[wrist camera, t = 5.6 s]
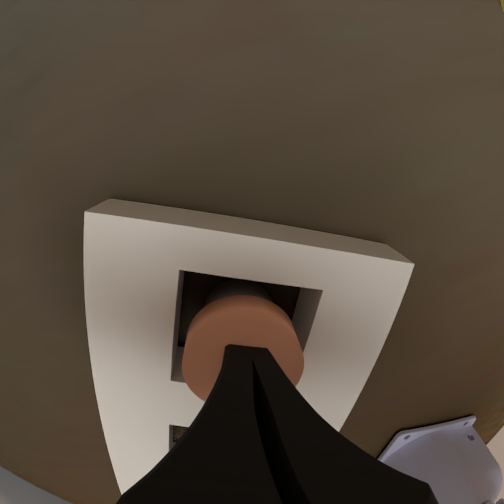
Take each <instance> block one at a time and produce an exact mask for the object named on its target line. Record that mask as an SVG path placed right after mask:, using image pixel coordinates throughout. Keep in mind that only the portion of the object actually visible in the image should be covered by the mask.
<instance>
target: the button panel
mask: <svg viewBox="0 0 504 504" xmlns="http://www.w3.org/2000/svg"><path fill="white" fill-rule="evenodd" d="M413 267H414V263H412V262H411V261H410V260H408V259H407V258H405V257H404V256H403V255H401V254H400V253H398V252H397V251H395V250H394V249H393V248H391V247H390V246H388V245H387V244H383V243H378V242H373V241H368V240H363V239H358V238H353V237H347V236H342V235H337V234H331V233H326V232H321V231H315V230H310V229H304V228H298V227H293V226H287V225H281V224H275V223H270V222H264V221H258V220H252V219H246V218H240V217H233V216H227V215H221V214H215V213H208V212H202V211H195V210H189V209H182V208H175V207H168V206H161V205H154V204H147V203H140V202H133V201H125V200H118V199H108V200H106V201H104V202H102V203H100V204H98V205H96V206H94V207H92V208H90V209H88V210H86V211H85V214H84V290H85V308H86V321H87V332H88V342H89V350H90V358H91V366H92V373H93V379H94V385H95V391H96V397H97V402H98V407H99V412H100V417H101V422H102V426H103V431H104V435H105V439H106V443H107V447H108V451H109V455H110V458H111V462H112V465H113V469H114V472H115V476H116V479H117V482H118V485H119V488H120V491H121V494H123V493H124V492H126V491H127V490H128V489H129V488H130V487H132V486H133V485H134V484H135V483H137V482H138V481H139V480H140V479H141V478H142V477H144V476H145V475H146V474H147V473H148V472H149V471H150V470H151V469H153V468H154V467H155V465H156V464H157V463H158V462H159V461H160V460H161V459H162V458H163V457H164V456H165V455H166V454H167V453H168V452H169V451H170V450H171V449H172V448H173V447H174V445H175V444H176V443H177V442H173V425H177V426H183V427H189V426H190V425H191V424H192V422H193V421H194V419H195V418H196V416H197V415H198V413H199V412H200V410H201V408H202V407H203V405H204V403H205V401H203V400H201V399H200V398H199V397H197V396H196V395H195V394H194V393H193V392H192V391H191V390H190V388H189V387H188V386H187V384H186V382H185V380H184V377H183V373H182V359H183V354H184V348H185V347H180V346H178V336H179V324H180V313H181V303H182V293H183V284H184V275H185V271H191V272H198V273H204V274H211V275H218V276H224V277H231V278H238V279H245V280H252V281H259V282H266V283H274V284H281V285H289V286H296V287H301V288H300V292H299V296H298V299H297V303H296V307H295V310H294V314H293V317H292V321H291V322H292V324H293V327H294V329H295V332H296V335H297V338H298V341H299V344H300V346H301V349H302V352H303V356H304V370H303V374H302V376H301V379H300V381H299V382H298V384H297V385H296V389H297V390H298V391H299V392H300V394H301V395H302V396H303V397H304V398H305V400H306V401H307V402H308V403H309V404H310V405H311V406H312V407H313V409H314V410H315V411H316V412H317V413H318V414H319V415H320V416H321V417H322V418H323V419H324V420H325V421H327V422H328V423H329V424H330V425H331V426H332V427H333V428H334V429H336V430H337V431H338V432H339V431H340V429H341V427H342V426H343V424H344V422H345V420H346V419H347V417H348V415H349V413H350V411H351V410H352V408H353V406H354V404H355V402H356V400H357V398H358V396H359V395H360V393H361V391H362V389H363V387H364V385H365V383H366V381H367V379H368V377H369V375H370V373H371V371H372V369H373V367H374V364H375V362H376V360H377V358H378V356H379V354H380V351H381V349H382V347H383V345H384V342H385V340H386V338H387V336H388V333H389V331H390V329H391V326H392V324H393V321H394V319H395V316H396V314H397V311H398V309H399V306H400V304H401V301H402V298H403V296H404V293H405V290H406V288H407V285H408V282H409V279H410V276H411V273H412V270H413Z"/></svg>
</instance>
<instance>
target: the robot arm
mask: <svg viewBox="0 0 504 504" xmlns="http://www.w3.org/2000/svg"><path fill="white" fill-rule="evenodd" d="M475 420H476V417H475V416H474V415H473V416H469V417H466V418H462V419H458V420H454V421H450V422H445V423H441V424H436V425H432V426H427V427H422V428H416V429H411V430H405V431H401V432H399V433H397V434H396V435H395V437H394V438H393V439H392V441H391V442H390V443H389V445H388V446H387V447H386V449H385V450H384V451H383V453H382V454H381V455H380V457H379V458H378V459H376V458H374V457H372V456H371V455H369V454H368V453H366V452H365V451H363V450H362V449H360V448H359V447H357V446H356V445H355V444H353V443H352V442H350V441H349V440H348V439H346V438H345V437H344V436H343V435H341V434H340V433H339V432H338V431H337V430H336V429H334V428H333V427H332V426H331V425H330V424H329V423H328V422H327V421H325V420H324V419H323V418H322V417H321V416H320V415H319V414H318V413H317V412H316V411H315V410H314V409H313V407H312V406H311V405H310V404H309V403H308V402H307V401H306V400H305V398H304V397H303V396H302V395H301V394H300V392H299V391H298V390H297V389H296V387H295V386H294V385H293V383H292V382H291V381H290V380H289V378H288V377H287V376H286V374H285V373H284V371H283V370H282V368H281V367H280V366H279V364H278V363H277V361H276V360H275V358H274V357H273V355H272V354H271V352H270V351H269V350H268V348H262V347H251V346H242V345H234V344H228V345H227V346H225V350H224V355H223V361H222V367H221V370H220V372H219V375H218V377H217V380H216V382H215V384H214V386H213V388H212V390H211V392H210V394H209V396H208V398H207V400H206V401H205V403H204V405H203V407H202V408H201V410H200V412H199V413H198V415H197V416H196V418H195V419H194V421H193V422H192V424H191V425H190V426H189V428H188V429H187V430H186V432H185V433H184V434H183V435H182V437H181V438H180V439H179V441H178V442H177V443H176V444H175V445H174V447H173V448H172V449H171V450H170V451H169V452H168V453H167V454H166V455H165V456H164V457H163V458H162V459H161V460H160V461H159V462H158V463H157V464H156V465H155V467H154V468H153V469H151V470H150V471H149V472H148V473H147V474H146V475H145V476H144V477H142V478H141V479H140V480H139V481H138V482H137V483H135V484H134V485H133V486H132V487H130V488H129V489H128V490H127V491H126V492H124V493H123V494H122V496H121V497H120V499H119V500H118V502H117V503H116V504H494V501H495V499H496V498H497V496H498V494H499V492H500V490H501V487H502V472H501V469H500V466H499V464H498V463H497V461H496V459H495V458H494V457H493V455H492V454H491V452H490V451H489V449H488V448H487V446H486V445H485V443H484V442H483V441H482V439H481V438H480V436H479V435H478V433H477V432H476V431H475V429H474V428H473V426H472V425H473V423H474V422H475ZM496 504H504V499H500V500H499V501H497V502H496Z"/></svg>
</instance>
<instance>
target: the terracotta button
mask: <svg viewBox="0 0 504 504" xmlns="http://www.w3.org/2000/svg"><path fill="white" fill-rule="evenodd" d="M228 344H234V345H242V346H251V347H262V348H268V350H269V351H270V352H271V354H272V355H273V357H274V358H275V360H276V361H277V363H278V364H279V366H280V367H281V368H282V370H283V371H284V373H285V374H286V376H287V377H288V378H289V380H290V381H291V382H292V383H293V385H294V386H295V387H296V385H297V384H298V382H299V381H300V379H301V376H302V374H303V370H304V356H303V352H302V349H301V346H300V344H299V341H298V338H297V335H296V332H295V329H294V327H293V324H292V322H291V320H290V318H289V317H288V315H287V314H286V313H285V312H284V311H283V310H282V309H281V308H280V307H279V306H277V305H276V304H274V303H273V302H272V300H271V297H270V295H269V294H268V292H267V291H266V290H265V289H264V288H263V287H262V286H261V285H259V284H258V283H256V282H254V281H251V280H245V279H230V280H227V281H224V282H222V283H220V284H218V285H217V286H216V287H214V288H213V289H212V290H211V291H210V293H209V294H208V296H207V298H206V300H205V304H204V308H202V309H201V310H200V311H199V312H198V313H197V314H196V315H195V317H194V318H193V320H192V321H191V323H190V325H189V328H188V331H187V337H186V342H185V348H184V354H183V359H182V373H183V377H184V380H185V382H186V384H187V386H188V387H189V388H190V390H191V391H192V392H193V393H194V394H195V395H196V396H197V397H199V398H200V399H201V400H203V401H206V400H207V398H208V396H209V394H210V392H211V390H212V388H213V386H214V384H215V382H216V380H217V377H218V375H219V372H220V370H221V367H222V361H223V355H224V350H225V346H227V345H228Z"/></svg>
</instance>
